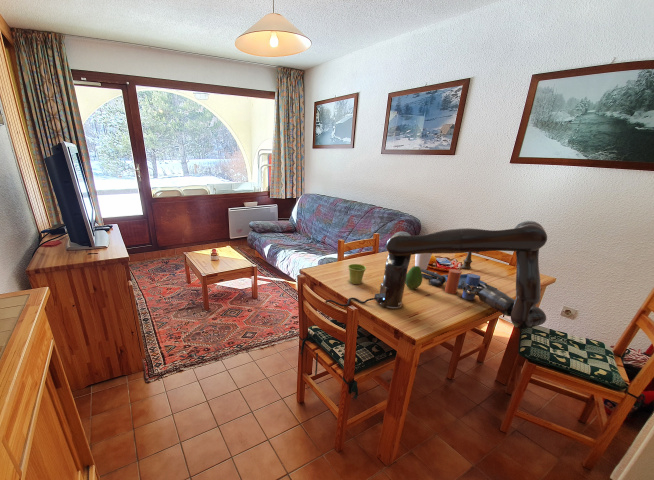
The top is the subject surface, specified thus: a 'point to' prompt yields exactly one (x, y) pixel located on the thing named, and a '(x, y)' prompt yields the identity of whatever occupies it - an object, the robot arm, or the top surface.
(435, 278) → the can opener
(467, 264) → the kendama
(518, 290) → the robot arm
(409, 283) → the fruit
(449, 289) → the terracotta tin
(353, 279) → the plant pot
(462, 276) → the blue tray
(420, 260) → the foam cup
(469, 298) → the blue tin
